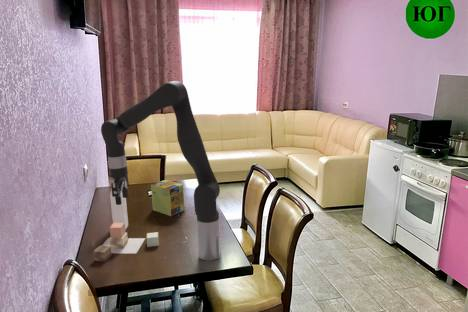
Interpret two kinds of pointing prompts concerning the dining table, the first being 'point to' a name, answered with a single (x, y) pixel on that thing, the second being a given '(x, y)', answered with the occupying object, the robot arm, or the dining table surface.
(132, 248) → the mat
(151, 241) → the sage block
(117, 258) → the dining table surface
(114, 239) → the birch block
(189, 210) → the dining table surface
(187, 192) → the dining table surface
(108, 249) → the walnut block
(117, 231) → the terracotta block
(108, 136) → the robot arm
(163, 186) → the protein box
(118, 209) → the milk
